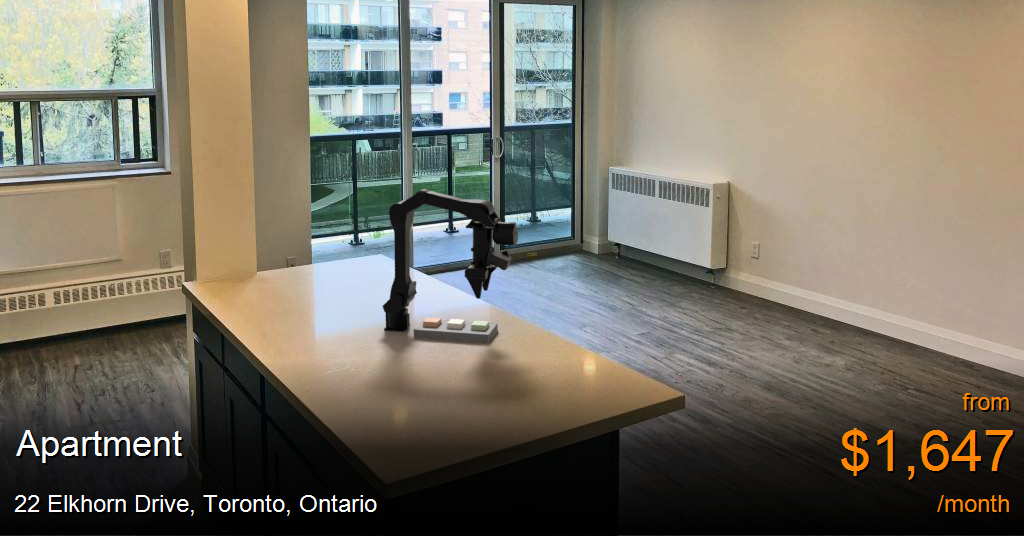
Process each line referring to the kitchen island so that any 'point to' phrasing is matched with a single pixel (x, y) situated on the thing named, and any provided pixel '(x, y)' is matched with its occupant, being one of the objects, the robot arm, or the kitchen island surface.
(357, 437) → the kitchen island surface
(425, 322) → the terracotta button
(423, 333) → the button panel
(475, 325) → the sage button
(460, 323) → the cream button
